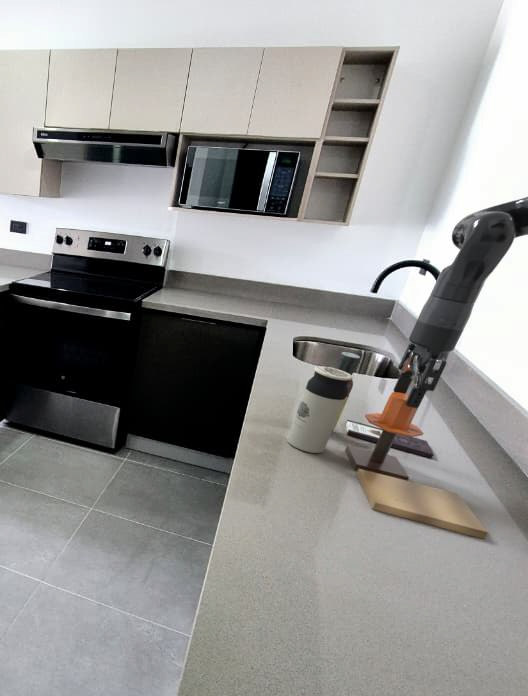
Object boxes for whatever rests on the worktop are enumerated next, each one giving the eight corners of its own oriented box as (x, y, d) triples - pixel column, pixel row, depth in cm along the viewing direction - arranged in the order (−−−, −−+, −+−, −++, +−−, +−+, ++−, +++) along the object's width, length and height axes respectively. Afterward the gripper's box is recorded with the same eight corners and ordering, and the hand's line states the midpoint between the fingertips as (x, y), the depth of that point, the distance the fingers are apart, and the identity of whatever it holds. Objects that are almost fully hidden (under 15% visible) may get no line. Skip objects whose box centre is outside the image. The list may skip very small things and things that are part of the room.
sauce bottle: (303, 421, 128) (331, 347, 120) (328, 426, 127) (359, 352, 119) (310, 432, 122) (340, 355, 114) (336, 437, 121) (369, 360, 113)
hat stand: (392, 462, 113) (424, 397, 106) (406, 483, 104) (441, 413, 97) (344, 450, 115) (372, 386, 108) (353, 470, 106) (384, 401, 100)
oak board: (453, 499, 100) (457, 493, 99) (484, 539, 88) (488, 532, 87) (355, 474, 105) (358, 468, 104) (372, 509, 92) (375, 502, 92)
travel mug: (317, 441, 118) (346, 369, 110) (328, 457, 111) (360, 381, 103) (282, 434, 119) (308, 363, 111) (291, 450, 111) (320, 374, 104)
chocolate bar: (433, 454, 117) (348, 431, 123) (431, 458, 117) (347, 434, 124) (426, 440, 124) (347, 419, 131) (425, 444, 125) (345, 422, 131)
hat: (412, 422, 108) (425, 395, 106) (427, 441, 100) (442, 411, 97) (361, 411, 111) (373, 384, 108) (372, 428, 102) (385, 399, 99)
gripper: (479, 334, 89) (437, 416, 96) (449, 319, 101) (414, 393, 108) (431, 325, 91) (394, 407, 98) (407, 312, 103) (376, 385, 110)
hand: (404, 399), depth 103 cm, fingers open, 8 cm apart
